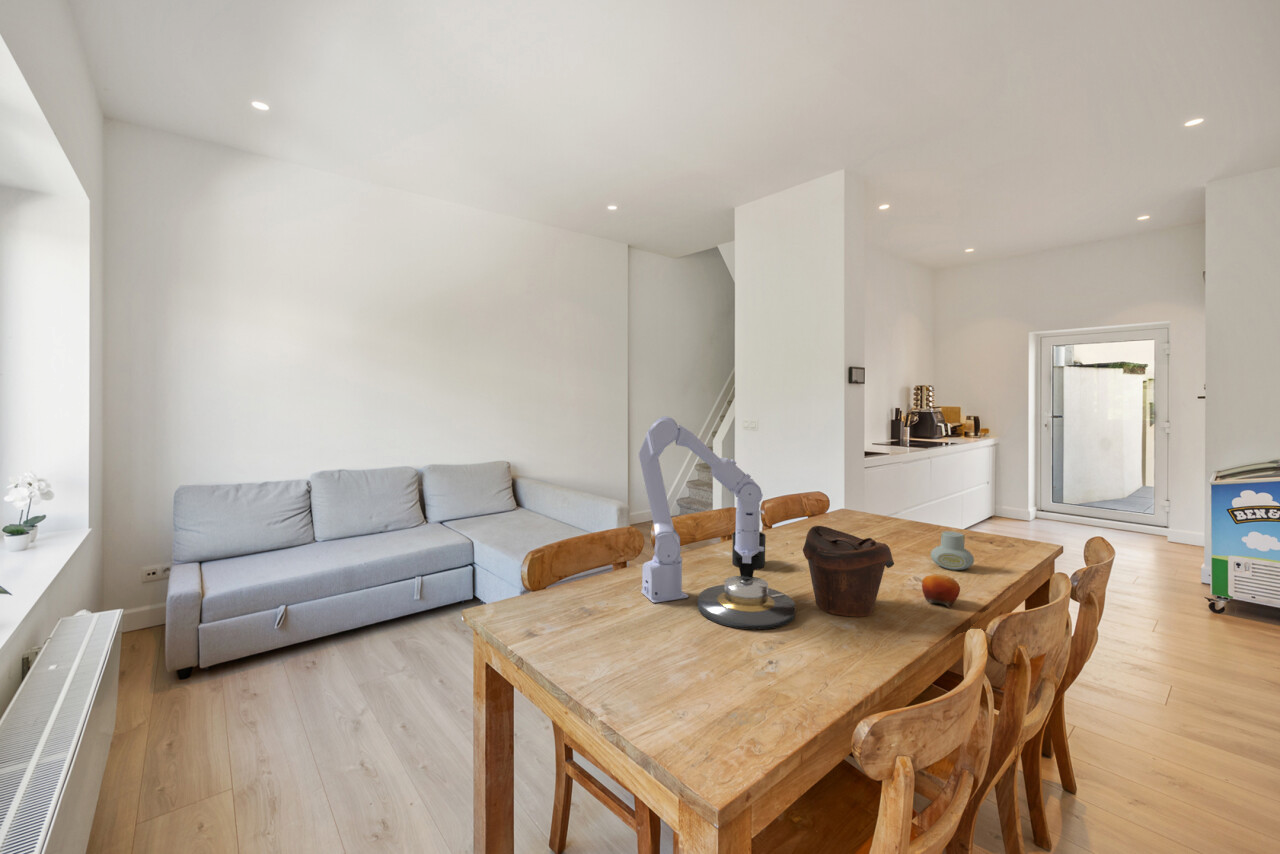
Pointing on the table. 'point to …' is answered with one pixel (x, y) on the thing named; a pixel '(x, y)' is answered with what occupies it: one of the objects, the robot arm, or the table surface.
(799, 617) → the table surface
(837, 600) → the case
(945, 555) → the air freshener
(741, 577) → the cover
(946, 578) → the fruit
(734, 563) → the black cylindrical cup
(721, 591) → the turntable
